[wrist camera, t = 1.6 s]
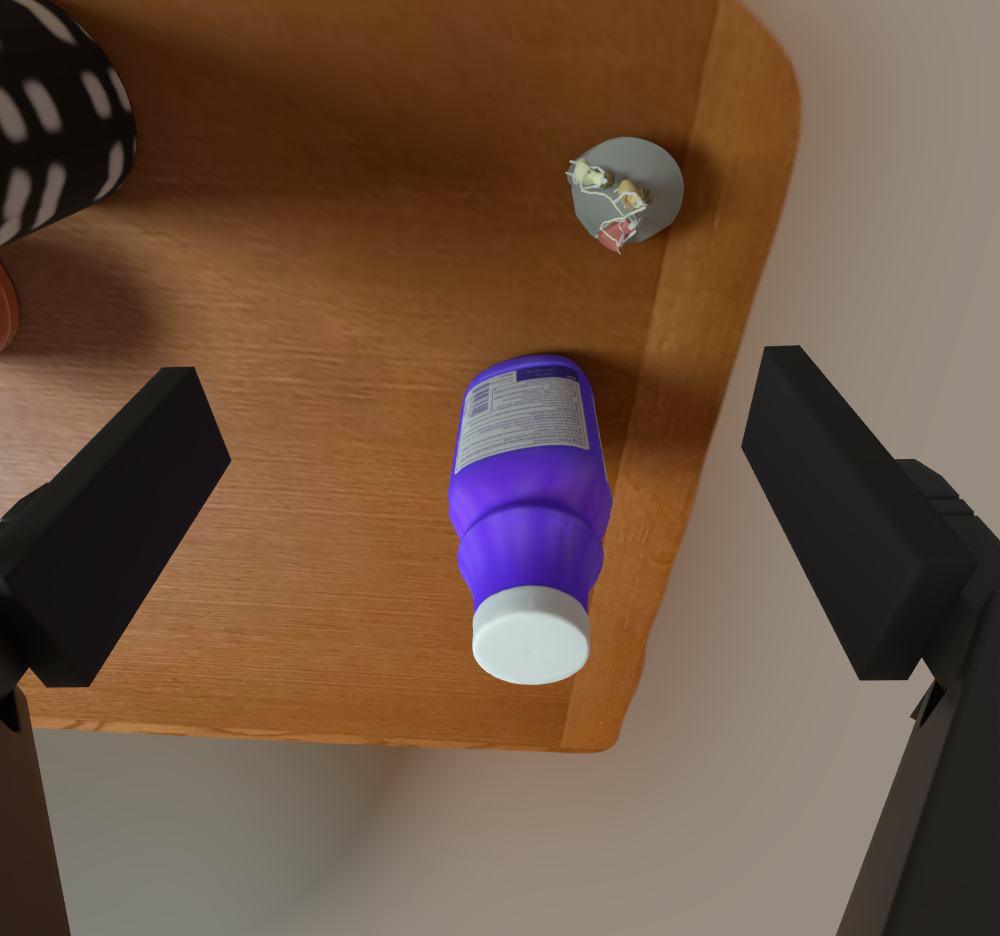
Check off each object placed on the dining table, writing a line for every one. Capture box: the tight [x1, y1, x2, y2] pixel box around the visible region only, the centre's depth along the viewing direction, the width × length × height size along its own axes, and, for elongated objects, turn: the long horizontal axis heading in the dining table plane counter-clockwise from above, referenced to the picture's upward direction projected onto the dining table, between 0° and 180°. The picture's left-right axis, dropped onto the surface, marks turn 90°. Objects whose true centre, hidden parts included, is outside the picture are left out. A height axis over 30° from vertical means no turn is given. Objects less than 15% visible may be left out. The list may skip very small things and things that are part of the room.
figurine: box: [565, 137, 684, 254], centre depth 25 cm, size 5×4×6 cm
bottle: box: [448, 354, 613, 685], centre depth 28 cm, size 7×6×17 cm
